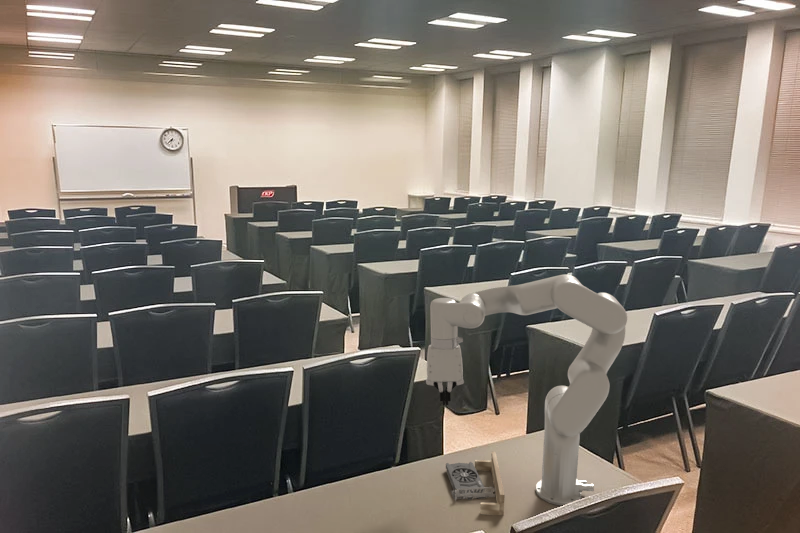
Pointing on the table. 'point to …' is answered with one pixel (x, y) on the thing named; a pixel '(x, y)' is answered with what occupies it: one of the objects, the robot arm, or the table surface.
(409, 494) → the table surface
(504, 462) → the table surface
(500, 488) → the birch bracket
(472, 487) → the graphics card
